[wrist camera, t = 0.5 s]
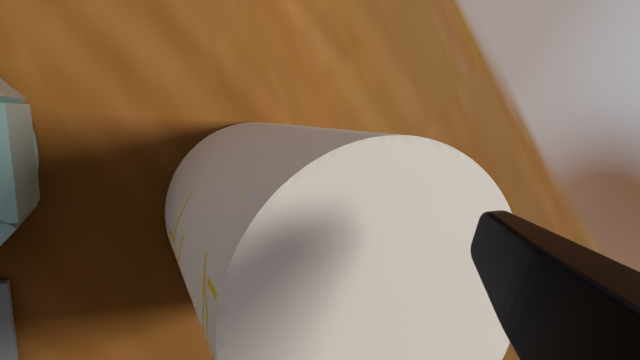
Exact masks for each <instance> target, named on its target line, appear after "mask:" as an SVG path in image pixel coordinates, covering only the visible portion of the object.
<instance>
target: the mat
mask: <svg viewBox="0 0 640 360" xmlns="http://www.w3.org/2000/svg"><path fill="white" fill-rule="evenodd" d="M0 360H19V357H18V349H17V340H16V332H15V324H14V316H13V307H12V299H11V291H10V282H9V280H3V281H0Z"/></svg>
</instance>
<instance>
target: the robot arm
mask: <svg viewBox="0 0 640 360" xmlns="http://www.w3.org/2000/svg"><path fill="white" fill-rule="evenodd" d="M470 252H471V257H472V260H473V263H474V265H475V267H476V269H477V272H478V274H479V276H480V279H481V281H482V283H483V285H484V288H485V290H486V292H487V295H488V297H489V299H490V302H491V304H492V306H493V308H494V311H495V313H496V315H497V317H498V320H499V322H500V324H501V326H502V328H503V330H504V332H505V334H506V336H507V338H508V339H509V341H510V343H511V345H512V347H513V348H514V350H515V352H516V354H517V355H518V357H519V359H520V360H640V272H638V271H636V270H634V269H632V268H630V267H627V266H625V265H623V264H621V263H618V262H617V261H614V260H612V259H610V258H608V257H606V256H604V255H601V254H599V253H597V252H595V251H593V250H590V249H588V248H586V247H584V246H582V245H580V244H577V243H575V242H573V241H571V240H569V239H566V238H564V237H562V236H560V235H558V234H556V233H553V232H551V231H549V230H547V229H545V228H542V227H540V226H538V225H536V224H534V223H532V222H529V221H527V220H525V219H523V218H521V217H518V216H516V215H514V214H512V213H510V212H508V211H504V210H497V211H486V212H484V213H483V214H482V215H481V216H480V218H479V221H478V224H477V227H476V230H475V234H474V237H473V240H472V243H471V249H470Z"/></svg>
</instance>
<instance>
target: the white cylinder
mask: <svg viewBox="0 0 640 360" xmlns="http://www.w3.org/2000/svg"><path fill="white" fill-rule="evenodd" d="M497 210H504V211H508V212H510V213H512V212H511V210H510V207H509V205H508V203H507V201H506V199H505V197H504V196H503V194H502V192H501V191H500V189H499V188H498V186H497V185H496V184H495V182H494V181H493V180H492V178H491V177H490V176H489V175H488V174H487V173H486V172H485V171H484V170H483V169H482V168H481V167H480V166H479V165H478V164H477V163H476V162H474V161H473V160H472V159H471V158H469V157H468V156H466V155H465V154H463V153H462V152H460V151H458V150H457V149H455V148H453V147H451V146H448V145H446V144H444V143H441V142H438V141H435V140H432V139H428V138H423V137H418V136H409V135H398V134H387V133H375V132H364V131H353V130H342V129H330V128H319V127H308V126H296V125H285V124H274V123H263V122H248V123H240V124H236V125H232V126H228V127H225V128H223V129H220V130H218V131H216V132H214V133H212V134H211V135H209V136H207V137H206V138H204V139H203V140H202V141H200V142H199V143H198V144H197V145H196V146H194V147H193V148H192V149H191V150H190V151H189V153H188V154H187V155H186V156H185V157H184V159H183V160H182V161H181V163H180V164H179V166H178V168H177V169H176V171H175V173H174V175H173V177H172V180H171V182H170V185H169V188H168V192H167V196H166V203H165V223H166V229H167V234H168V237H169V240H170V243H171V246H172V249H173V251H174V254H175V257H176V259H177V262H178V265H179V268H180V270H181V273H182V276H183V278H184V281H185V284H186V287H187V289H188V292H189V295H190V297H191V300H192V303H193V306H194V308H195V311H196V314H197V316H198V319H199V322H200V325H201V327H202V330H203V333H204V335H205V338H206V341H207V344H208V346H209V349H210V352H211V354H212V357H213V360H502V359H503V357H504V355H505V353H506V351H507V348H508V346H509V343H510V341H509V339H508V338H507V336H506V334H505V332H504V330H503V328H502V326H501V324H500V322H499V320H498V317H497V315H496V313H495V311H494V308H493V306H492V304H491V302H490V299H489V297H488V295H487V292H486V290H485V288H484V285H483V283H482V281H481V279H480V276H479V274H478V272H477V269H476V267H475V265H474V263H473V260H472V257H471V252H470V249H471V243H472V240H473V237H474V234H475V230H476V227H477V224H478V221H479V218H480V216H481V215H482V214H483V213H484V212H486V211H497Z"/></svg>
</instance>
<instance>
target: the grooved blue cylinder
mask: <svg viewBox="0 0 640 360" xmlns="http://www.w3.org/2000/svg"><path fill="white" fill-rule="evenodd" d="M25 100H26V98H25V97H24V96H23V95H21V94H20V93H19V92H18V91H16V90H15V89H14V88H13V87H11V86H10V85H9V84H8V83H7V82H6V81H5V80H4V78H3V77H1V76H0V246H1V245H2V244H3V243H4V242H5V241H6V240H7V239H8V238H9V237H10V236H11V235H12V233H13V232H14V231H15V230H16V229H17V228H18V227H19V226H20V225H21V224H22V223H23V221H24V220H25V219H26V218H27V217H28V216H29V215H30V214H31V212H32V211H33V210H34V209H35V208H36V207H37V206H38V204H37V202H38V201H39V200H40V191H39V182H38V179H39V171H40V149H39V144H38V138H37V134H36V131H35V128H34V125H33V122H32V117H31V108H30V104H23V102H24V101H25Z"/></svg>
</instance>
